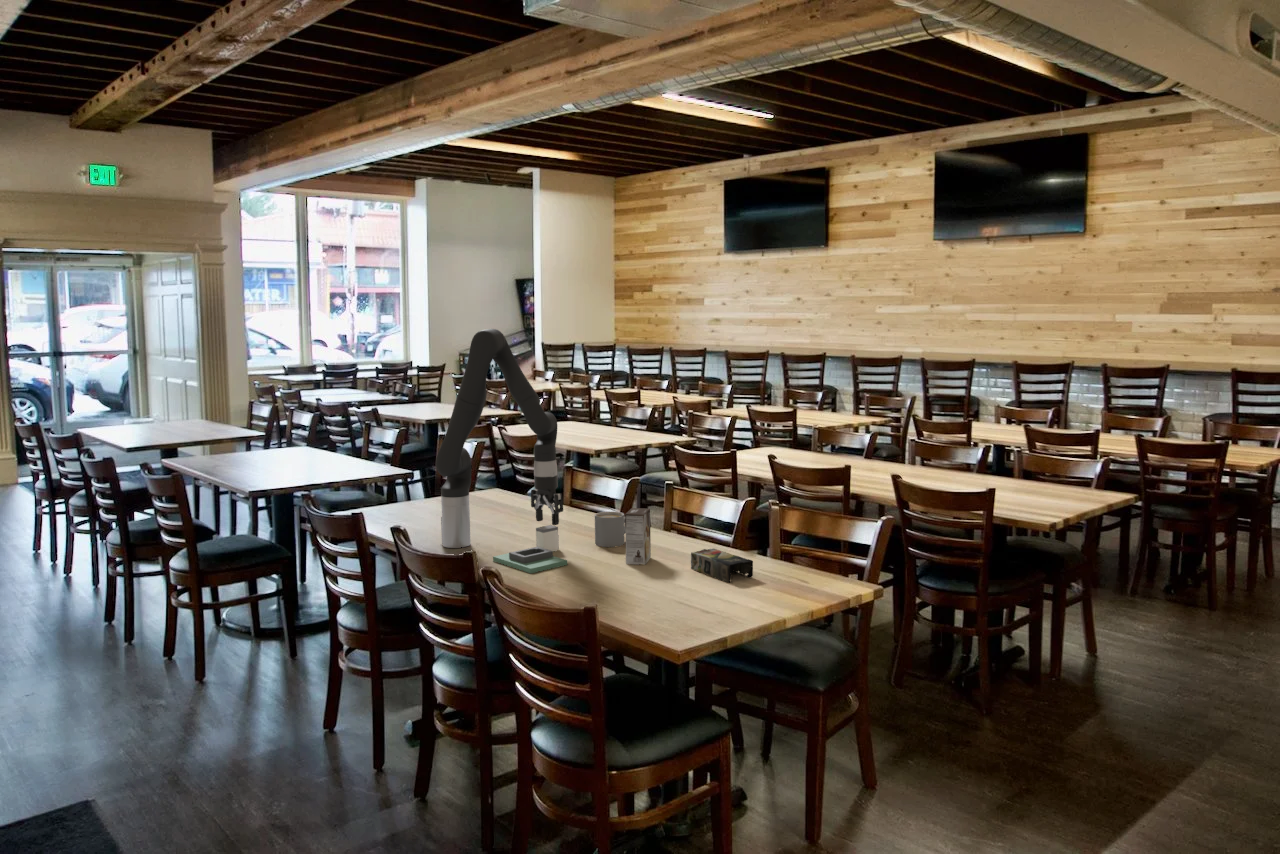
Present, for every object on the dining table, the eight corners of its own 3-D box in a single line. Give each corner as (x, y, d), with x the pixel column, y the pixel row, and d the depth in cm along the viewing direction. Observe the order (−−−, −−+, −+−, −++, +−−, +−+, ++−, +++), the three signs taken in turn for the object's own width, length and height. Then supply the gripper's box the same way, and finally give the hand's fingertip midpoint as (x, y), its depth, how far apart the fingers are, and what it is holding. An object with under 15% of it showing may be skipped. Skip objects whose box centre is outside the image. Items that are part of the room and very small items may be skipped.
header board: (493, 561, 308) (492, 550, 308) (529, 553, 318) (528, 542, 317) (530, 573, 294) (530, 562, 293) (567, 564, 303) (567, 553, 302)
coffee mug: (604, 548, 323) (603, 519, 322) (589, 542, 331) (589, 513, 330) (638, 543, 330) (638, 514, 328) (623, 537, 338) (623, 509, 337)
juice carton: (686, 568, 298) (687, 549, 297) (712, 564, 303) (712, 545, 303) (728, 585, 281) (728, 564, 281) (754, 579, 287) (754, 559, 286)
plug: (536, 551, 320) (535, 527, 319) (553, 547, 324) (552, 524, 323) (543, 553, 317) (543, 529, 316) (560, 550, 321) (560, 526, 320)
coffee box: (631, 556, 312) (631, 507, 310) (651, 557, 311) (650, 508, 309) (625, 564, 303) (624, 513, 301) (645, 565, 302) (645, 514, 300)
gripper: (523, 473, 319) (525, 521, 321) (549, 477, 309) (551, 528, 311) (541, 470, 325) (543, 518, 326) (568, 474, 314) (570, 524, 316)
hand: (547, 522), depth 319 cm, fingers open, 8 cm apart
